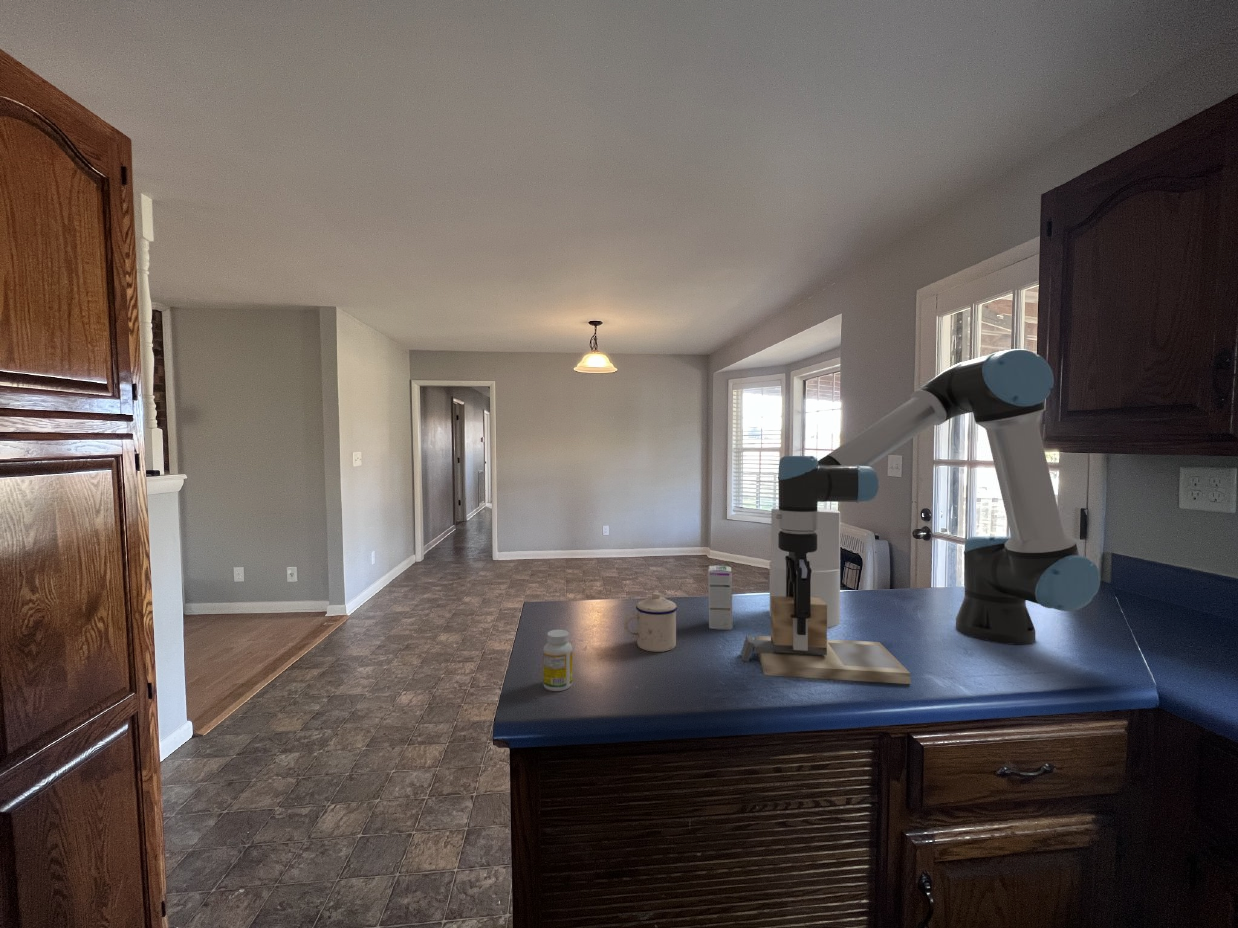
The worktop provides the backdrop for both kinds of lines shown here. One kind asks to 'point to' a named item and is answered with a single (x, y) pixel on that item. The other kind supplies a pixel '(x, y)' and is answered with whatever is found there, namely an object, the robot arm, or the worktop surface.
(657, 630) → the teacup with lid
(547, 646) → the supplement bottle
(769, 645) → the chip
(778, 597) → the sanding block
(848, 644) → the maple board
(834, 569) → the cylinder
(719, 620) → the syrup box
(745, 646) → the chip
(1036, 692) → the worktop surface
